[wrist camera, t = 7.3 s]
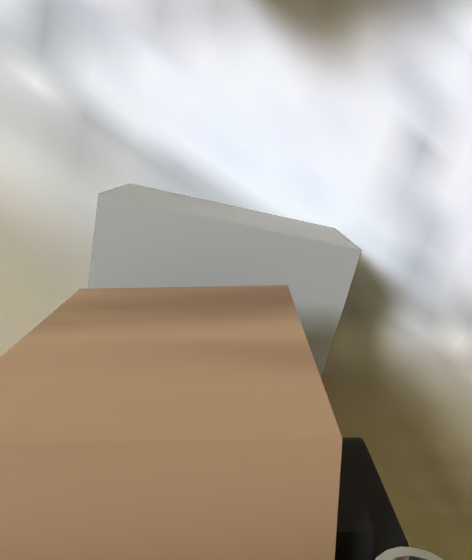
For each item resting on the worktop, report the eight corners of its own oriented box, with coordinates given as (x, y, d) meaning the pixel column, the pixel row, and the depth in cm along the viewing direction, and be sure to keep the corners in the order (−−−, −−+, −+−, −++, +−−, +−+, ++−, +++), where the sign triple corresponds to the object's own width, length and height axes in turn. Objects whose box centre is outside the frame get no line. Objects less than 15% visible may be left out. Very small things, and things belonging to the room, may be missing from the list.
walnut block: (80, 288, 9) (-100, 443, 4) (287, 285, 9) (342, 438, 4) (114, 536, 11) (20, 829, 6) (283, 535, 11) (317, 830, 6)
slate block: (132, 182, 14) (98, 193, 11) (332, 226, 14) (361, 250, 11) (101, 407, 17) (67, 473, 13) (271, 439, 17) (279, 510, 14)
